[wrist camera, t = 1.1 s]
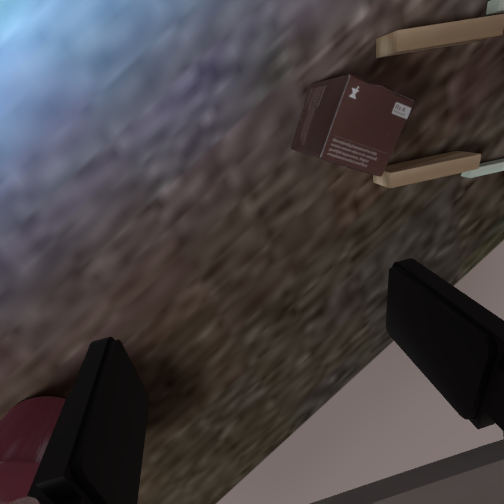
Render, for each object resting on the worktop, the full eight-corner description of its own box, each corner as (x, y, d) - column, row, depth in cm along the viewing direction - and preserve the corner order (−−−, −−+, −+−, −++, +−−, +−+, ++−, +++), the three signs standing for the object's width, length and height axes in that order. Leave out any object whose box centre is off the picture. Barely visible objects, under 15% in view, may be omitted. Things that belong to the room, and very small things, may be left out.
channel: (376, 38, 27) (397, 30, 24) (475, 23, 28) (506, 13, 25) (373, 182, 33) (389, 188, 30) (455, 164, 34) (478, 168, 31)
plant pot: (121, 446, 41) (96, 571, 30) (7, 469, 39) (-67, 615, 28) (96, 369, 35) (53, 490, 24) (-41, 390, 33) (-160, 536, 22)
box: (288, 148, 29) (317, 158, 23) (310, 81, 27) (349, 70, 21) (341, 165, 31) (382, 179, 25) (365, 103, 29) (417, 100, 22)
